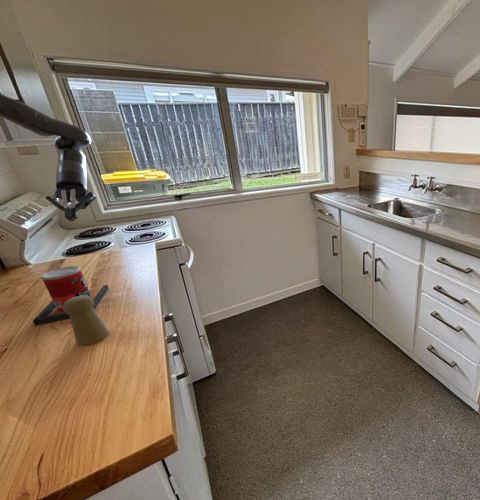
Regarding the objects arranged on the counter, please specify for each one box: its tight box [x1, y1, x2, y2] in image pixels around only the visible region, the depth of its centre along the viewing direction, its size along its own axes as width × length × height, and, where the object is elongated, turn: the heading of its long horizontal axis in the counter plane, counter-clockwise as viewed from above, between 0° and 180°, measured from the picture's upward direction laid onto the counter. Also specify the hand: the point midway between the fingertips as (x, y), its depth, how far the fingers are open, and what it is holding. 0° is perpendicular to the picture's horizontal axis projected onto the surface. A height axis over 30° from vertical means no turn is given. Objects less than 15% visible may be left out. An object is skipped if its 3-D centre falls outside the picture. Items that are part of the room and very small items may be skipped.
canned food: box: [41, 265, 93, 313], centre depth 81 cm, size 8×8×11 cm
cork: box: [63, 295, 110, 347], centre depth 67 cm, size 6×6×11 cm
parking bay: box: [32, 284, 110, 326], centre depth 83 cm, size 12×16×2 cm
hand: (71, 219), depth 91 cm, fingers closed
